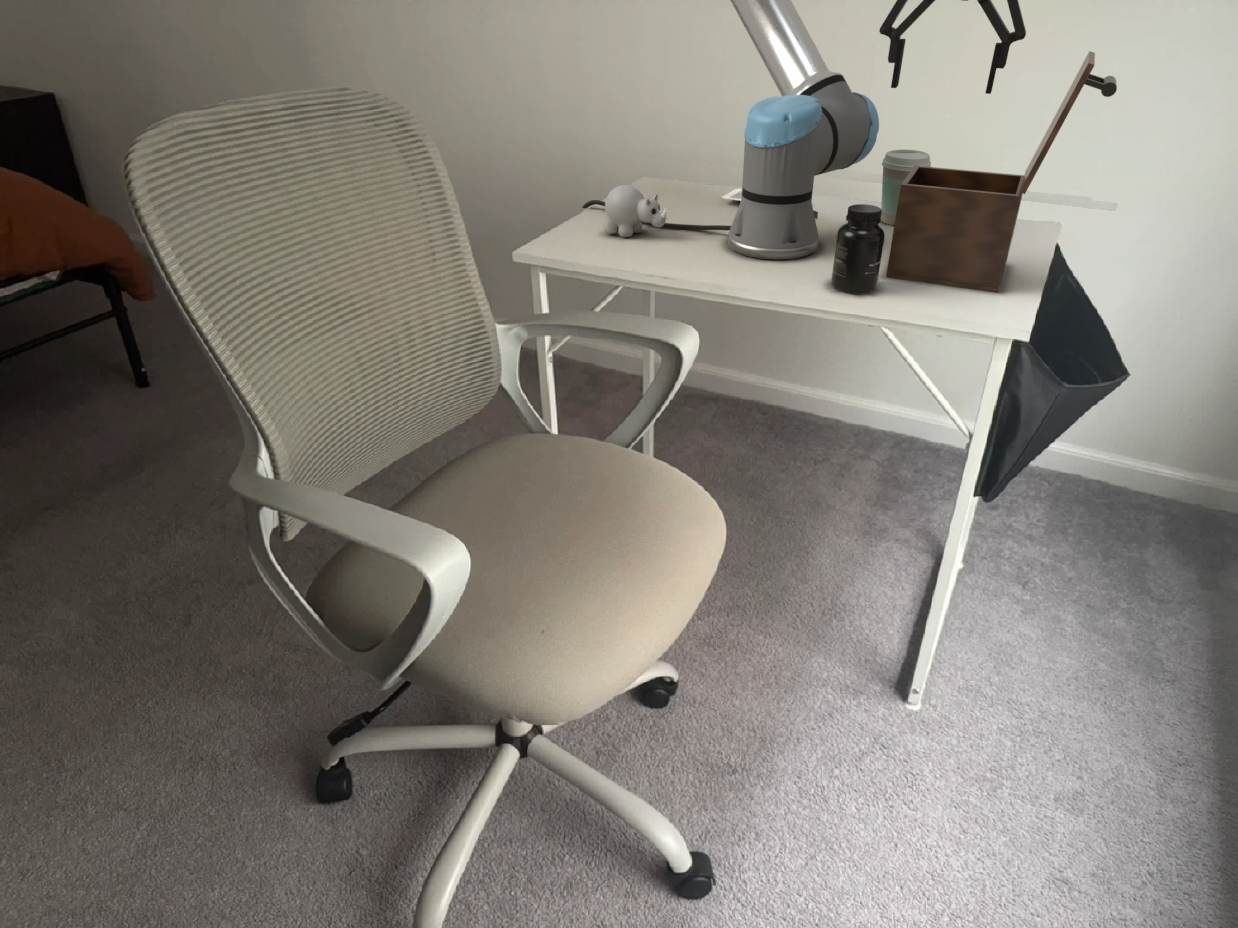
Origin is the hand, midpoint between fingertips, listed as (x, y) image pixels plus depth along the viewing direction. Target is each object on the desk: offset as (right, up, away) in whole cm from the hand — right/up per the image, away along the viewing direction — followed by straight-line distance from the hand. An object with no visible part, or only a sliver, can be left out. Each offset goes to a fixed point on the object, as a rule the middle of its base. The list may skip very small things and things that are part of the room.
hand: (940, 89), depth 130 cm
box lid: (+12, -9, -10) cm, 18 cm away
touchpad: (-20, -5, +40) cm, 45 cm away
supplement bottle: (-13, -30, +2) cm, 32 cm away
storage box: (+3, -26, +7) cm, 27 cm away
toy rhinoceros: (-46, -16, +24) cm, 54 cm away
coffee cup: (+3, -12, +30) cm, 32 cm away
